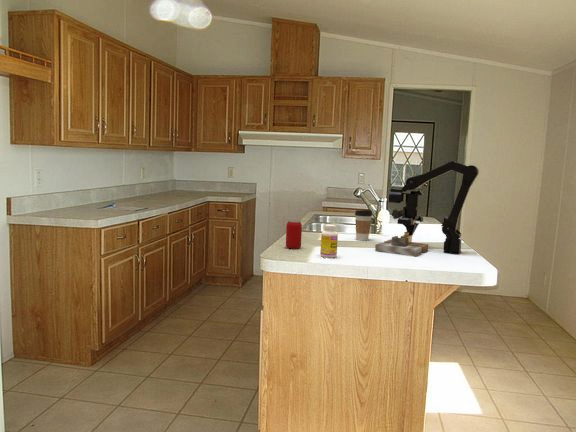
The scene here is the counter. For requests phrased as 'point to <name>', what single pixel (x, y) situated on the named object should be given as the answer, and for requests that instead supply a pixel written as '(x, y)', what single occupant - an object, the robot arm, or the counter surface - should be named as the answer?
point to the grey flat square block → (401, 247)
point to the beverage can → (293, 234)
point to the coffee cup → (363, 224)
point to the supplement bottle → (329, 241)
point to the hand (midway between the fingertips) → (409, 238)
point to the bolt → (406, 234)
